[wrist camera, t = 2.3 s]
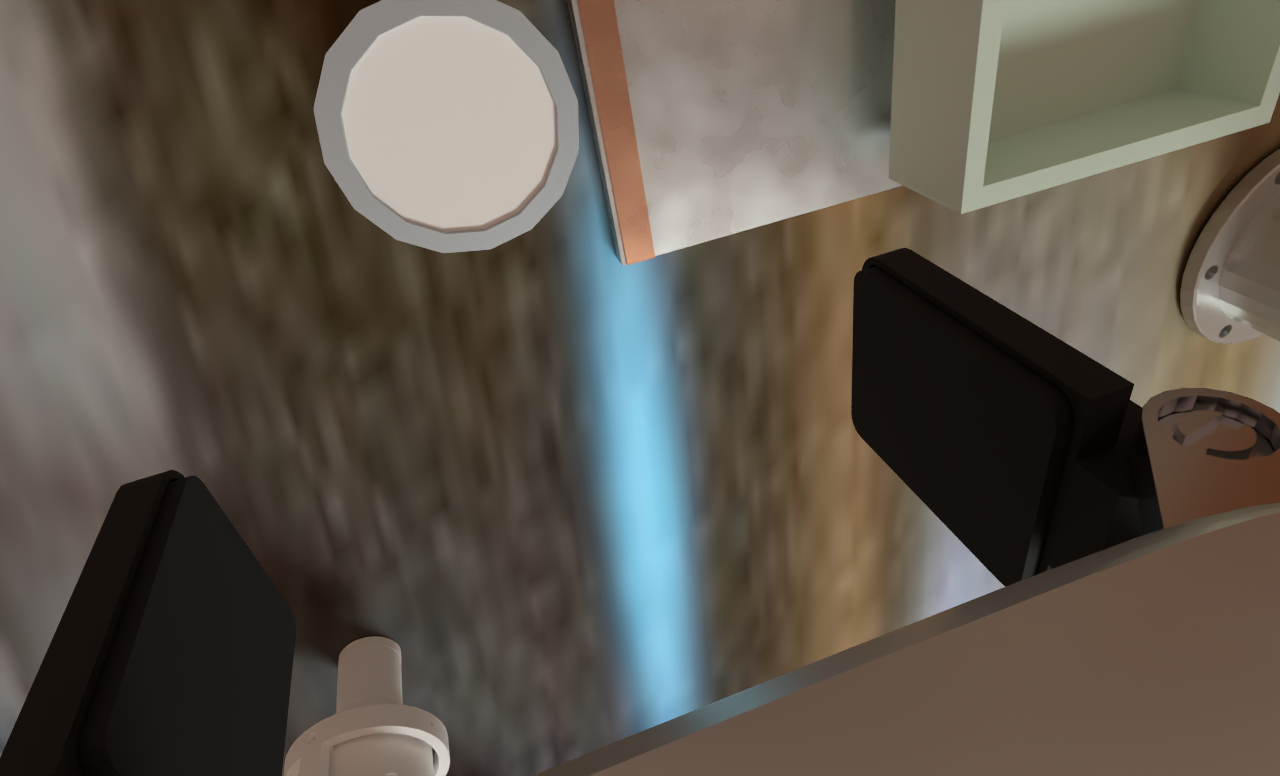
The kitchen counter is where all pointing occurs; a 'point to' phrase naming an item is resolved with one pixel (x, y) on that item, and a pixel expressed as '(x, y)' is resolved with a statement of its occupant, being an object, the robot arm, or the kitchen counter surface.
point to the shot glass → (447, 121)
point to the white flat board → (732, 112)
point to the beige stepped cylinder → (371, 723)
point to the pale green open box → (1068, 88)
